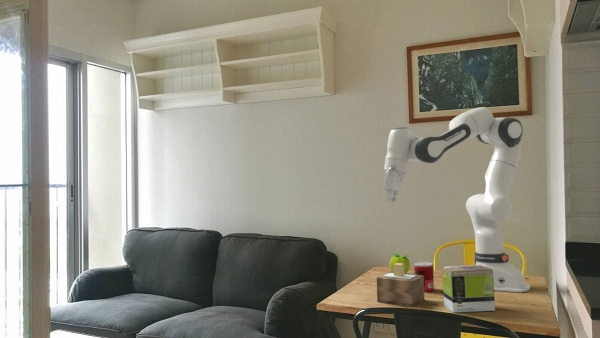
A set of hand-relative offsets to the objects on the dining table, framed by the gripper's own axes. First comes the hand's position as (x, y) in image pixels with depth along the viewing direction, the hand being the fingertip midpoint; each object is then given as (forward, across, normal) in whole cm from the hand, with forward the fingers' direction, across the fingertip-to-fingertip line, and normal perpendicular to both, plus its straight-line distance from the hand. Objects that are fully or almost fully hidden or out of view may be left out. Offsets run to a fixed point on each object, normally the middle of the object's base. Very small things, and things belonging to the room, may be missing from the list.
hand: (391, 201), depth 195 cm
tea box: (+34, -9, -34) cm, 49 cm away
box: (+37, -4, -10) cm, 38 cm away
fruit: (+36, +44, 0) cm, 57 cm away
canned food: (+35, +16, -16) cm, 41 cm away
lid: (+30, -5, -8) cm, 32 cm away
